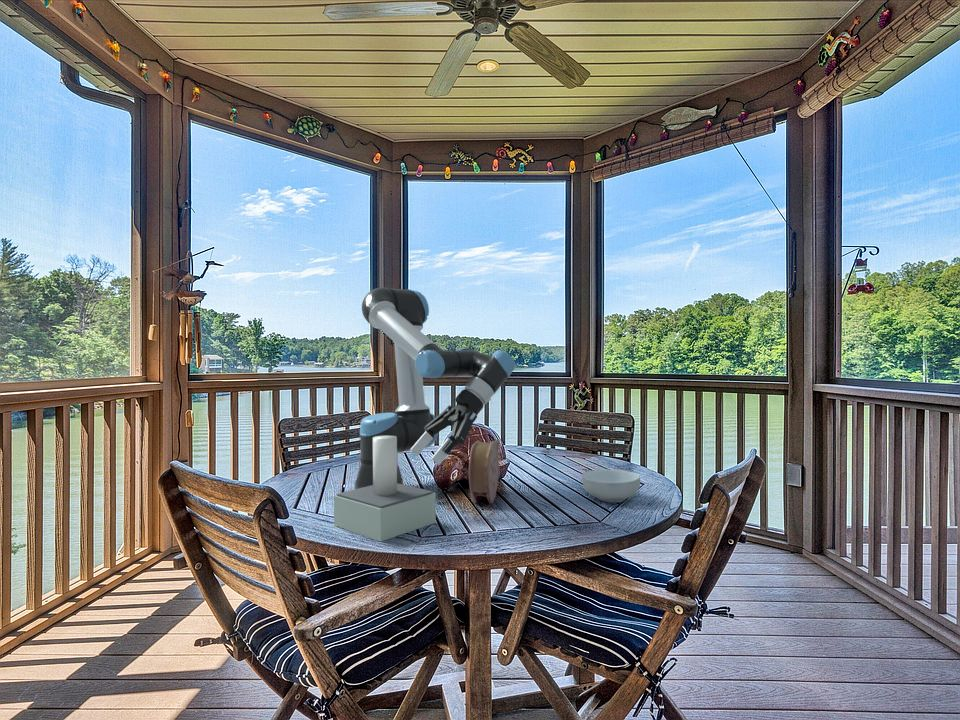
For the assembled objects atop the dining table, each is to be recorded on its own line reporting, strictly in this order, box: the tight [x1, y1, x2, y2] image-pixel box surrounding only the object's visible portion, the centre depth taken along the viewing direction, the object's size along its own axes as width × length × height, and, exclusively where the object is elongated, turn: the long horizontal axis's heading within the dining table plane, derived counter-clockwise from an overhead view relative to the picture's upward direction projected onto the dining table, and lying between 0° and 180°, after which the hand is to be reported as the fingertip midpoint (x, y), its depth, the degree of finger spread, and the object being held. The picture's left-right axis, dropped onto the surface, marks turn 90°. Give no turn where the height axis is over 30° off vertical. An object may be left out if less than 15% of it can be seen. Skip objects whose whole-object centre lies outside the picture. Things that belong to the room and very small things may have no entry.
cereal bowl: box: [581, 468, 641, 503], centre depth 162 cm, size 17×17×7 cm
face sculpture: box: [468, 438, 501, 504], centre depth 163 cm, size 20×7×17 cm, turn 171°
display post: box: [373, 436, 398, 496], centre depth 139 cm, size 6×6×14 cm
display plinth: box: [333, 483, 437, 542], centre depth 139 cm, size 18×18×8 cm
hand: (423, 457), depth 144 cm, fingers open, 13 cm apart
